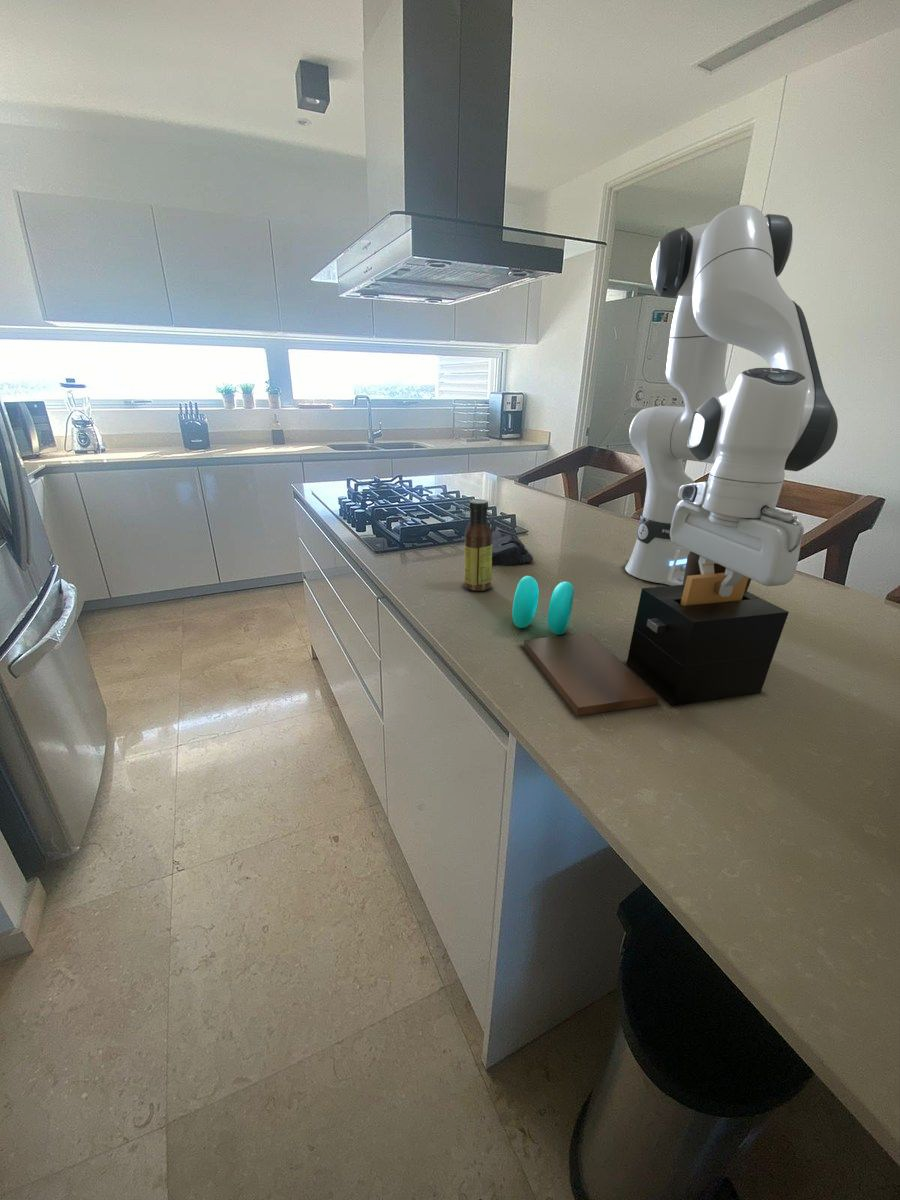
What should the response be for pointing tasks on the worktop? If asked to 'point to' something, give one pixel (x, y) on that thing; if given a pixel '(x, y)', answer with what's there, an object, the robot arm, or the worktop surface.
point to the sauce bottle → (478, 548)
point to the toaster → (703, 645)
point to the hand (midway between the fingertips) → (714, 590)
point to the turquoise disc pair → (528, 603)
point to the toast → (709, 589)
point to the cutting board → (588, 674)
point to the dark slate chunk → (508, 549)
